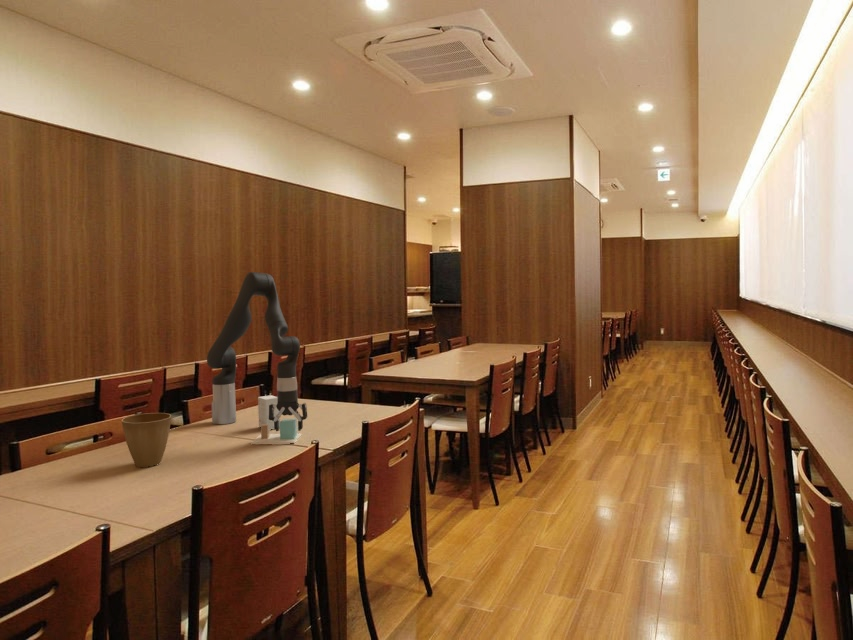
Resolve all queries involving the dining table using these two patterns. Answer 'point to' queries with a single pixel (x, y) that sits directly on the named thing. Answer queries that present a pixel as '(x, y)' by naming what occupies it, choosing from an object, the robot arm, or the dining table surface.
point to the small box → (267, 410)
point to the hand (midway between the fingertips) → (288, 430)
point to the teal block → (288, 428)
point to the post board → (272, 437)
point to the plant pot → (147, 437)
